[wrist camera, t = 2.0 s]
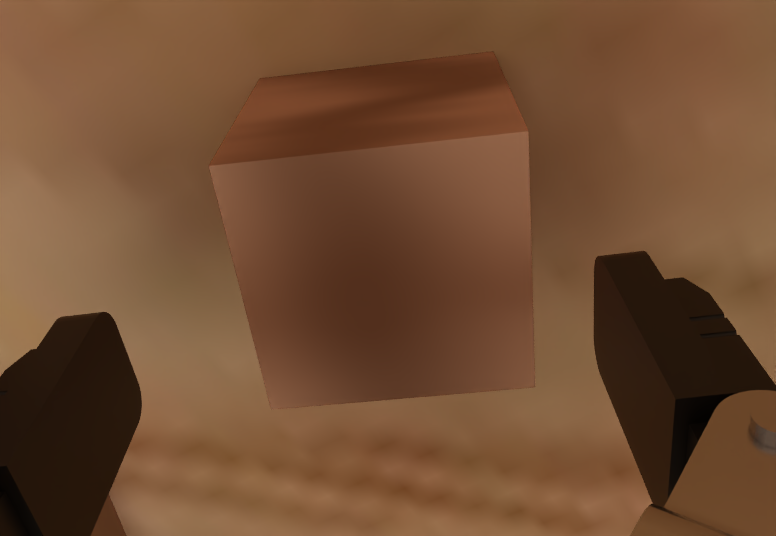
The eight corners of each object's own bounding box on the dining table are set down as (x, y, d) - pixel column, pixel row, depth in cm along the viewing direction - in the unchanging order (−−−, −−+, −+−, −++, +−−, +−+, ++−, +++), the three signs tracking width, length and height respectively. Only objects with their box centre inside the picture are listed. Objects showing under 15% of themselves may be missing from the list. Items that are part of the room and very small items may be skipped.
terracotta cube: (492, 50, 16) (528, 130, 11) (502, 256, 18) (534, 386, 14) (259, 77, 16) (208, 165, 12) (301, 276, 18) (271, 409, 14)
